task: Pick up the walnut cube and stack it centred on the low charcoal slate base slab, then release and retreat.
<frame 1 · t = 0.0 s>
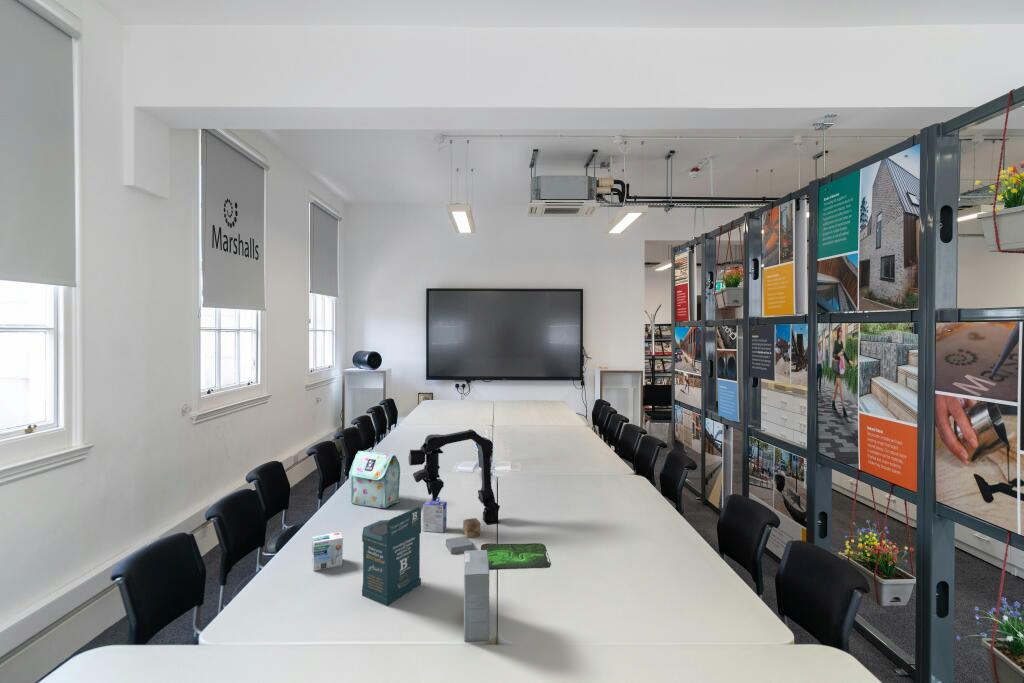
hand: (432, 497, 220), 15 cm above the table, fingers open, 9 cm apart
hard drive box: (476, 626, 149), on the table
base slab: (458, 548, 203), on the table
walnut block: (471, 534, 216), on the table
donation box: (387, 588, 170), on the table
ink cartridge box: (434, 530, 221), on the table
lunch bag: (375, 503, 255), on the table
light bulb box: (327, 565, 187), on the table
mouse mat: (515, 557, 196), on the table
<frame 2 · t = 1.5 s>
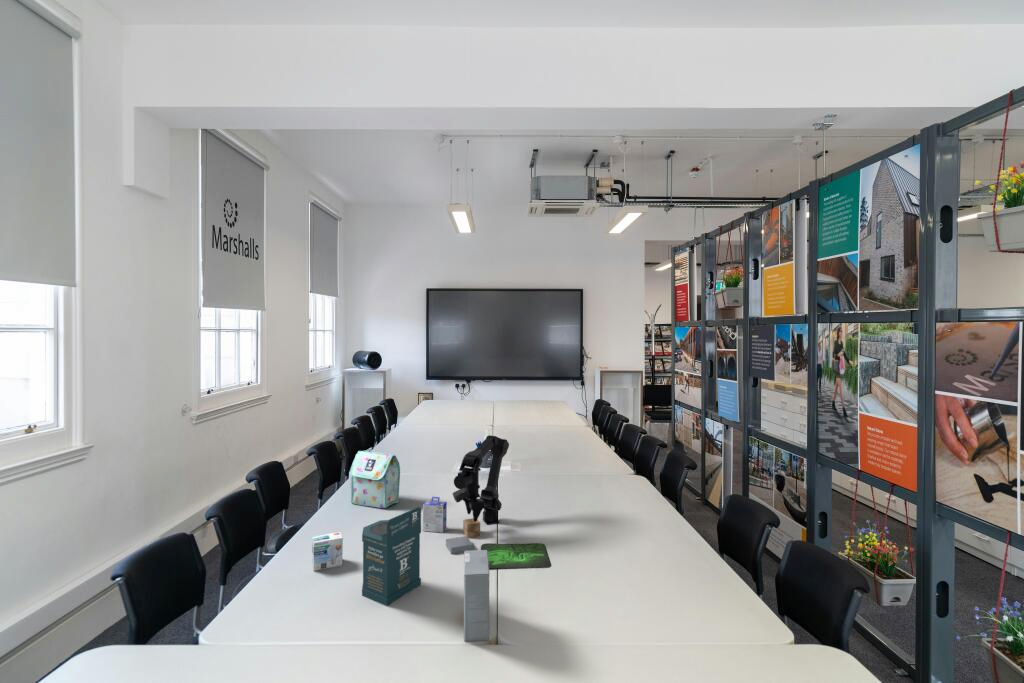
hand: (471, 517, 216), 7 cm above the table, fingers open, 9 cm apart
nothing on the table moved.
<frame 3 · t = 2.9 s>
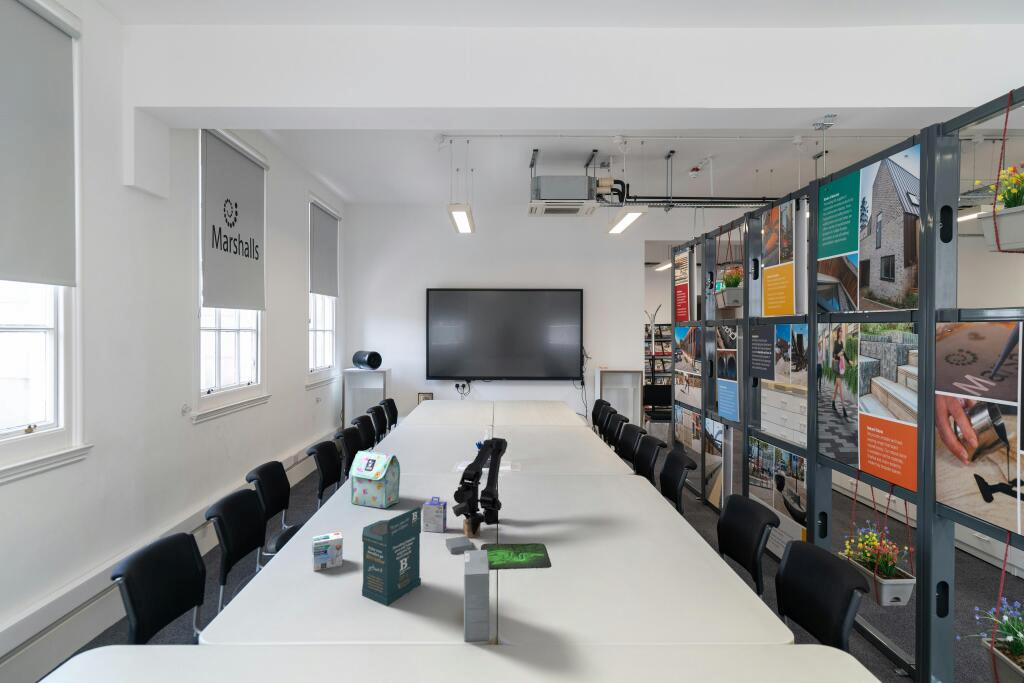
hand: (471, 531, 216), 1 cm above the table, fingers closed on walnut block, 6 cm apart
walnut block: (471, 534, 216), on the table, touching gripper
everything else where it was.
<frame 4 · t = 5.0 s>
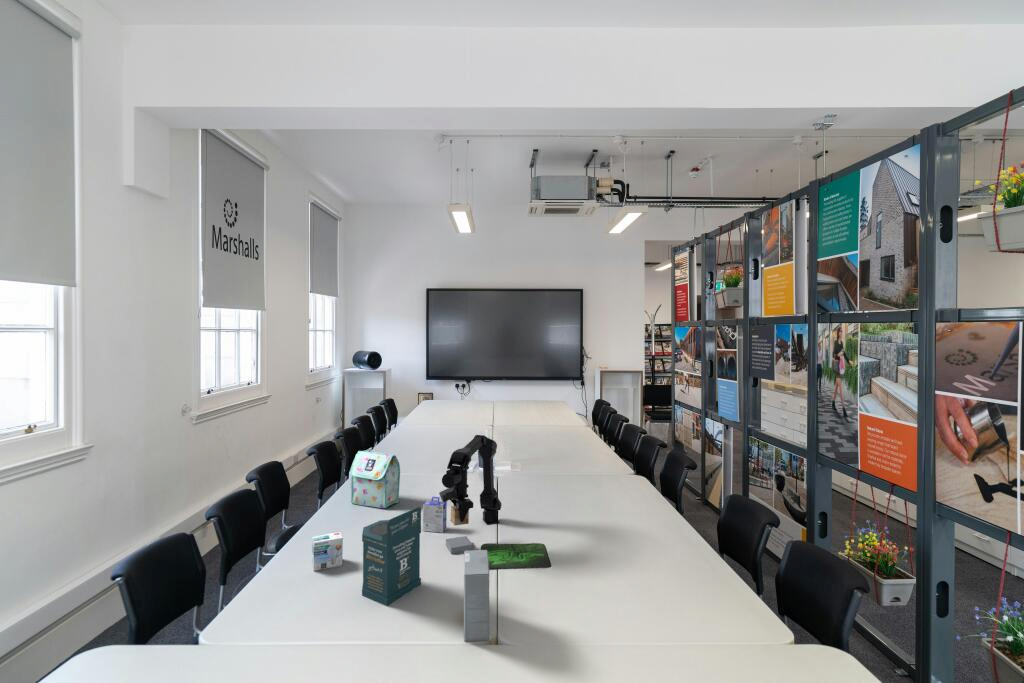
hand: (459, 519, 203), 12 cm above the table, fingers closed on walnut block, 6 cm apart
walnut block: (459, 522, 203), point 10 cm above the table, touching gripper
everything else where it was.
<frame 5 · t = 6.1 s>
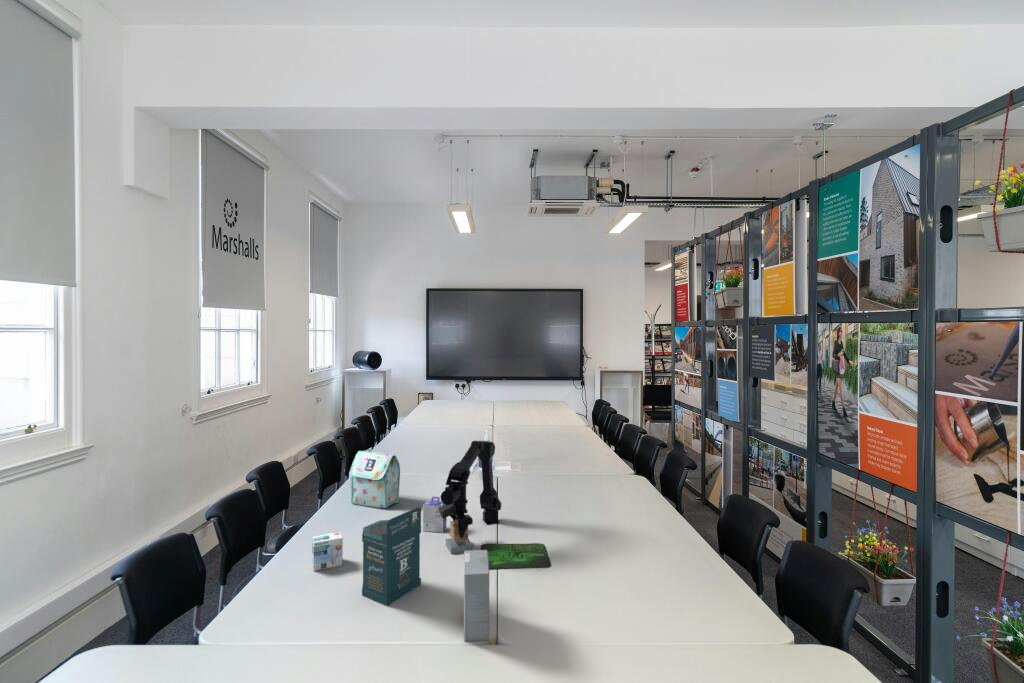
hand: (459, 534, 203), 6 cm above the table, fingers closed on walnut block, 6 cm apart
walnut block: (459, 537, 203), point 4 cm above the table, touching gripper
everything else where it was.
when the fingers open (5 cm above the table, at t = 7.0 s): walnut block drops 1 cm, point 3 cm above the table.
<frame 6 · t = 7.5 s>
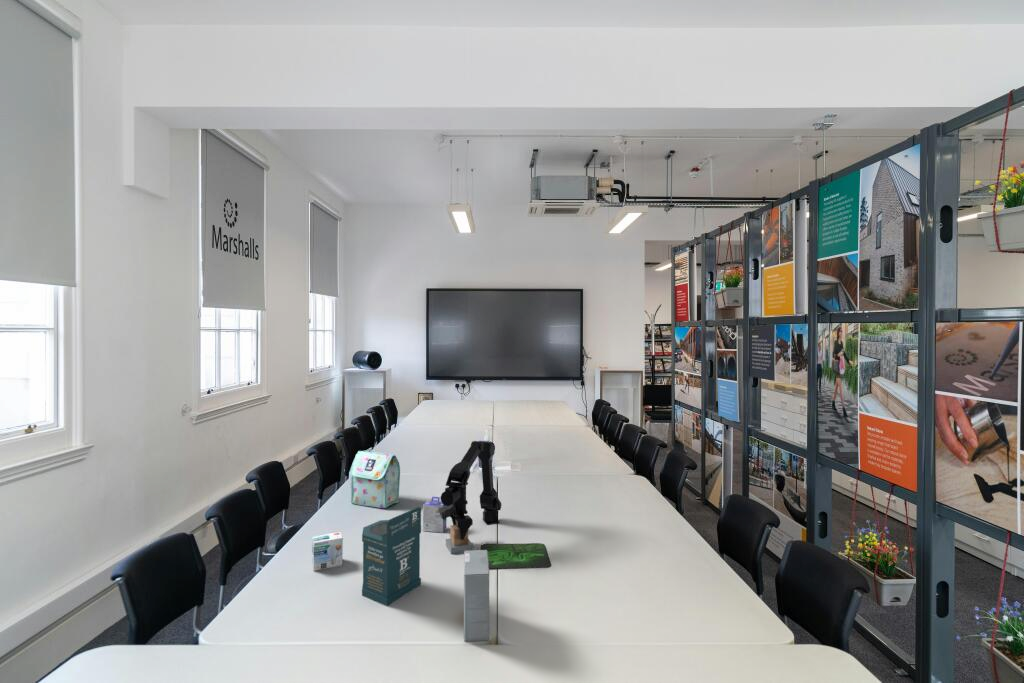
hand: (459, 535, 203), 5 cm above the table, fingers open, 9 cm apart
walnut block: (459, 541, 203), point 3 cm above the table
everything else where it was.
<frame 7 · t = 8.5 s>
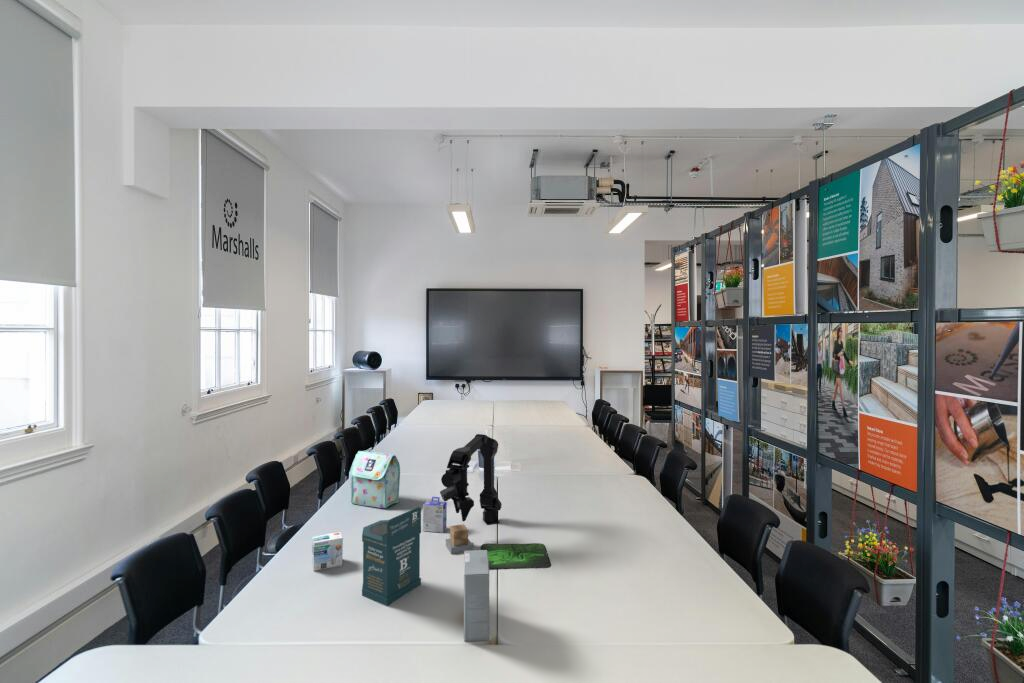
hand: (460, 516, 206), 11 cm above the table, fingers open, 9 cm apart
nothing on the table moved.
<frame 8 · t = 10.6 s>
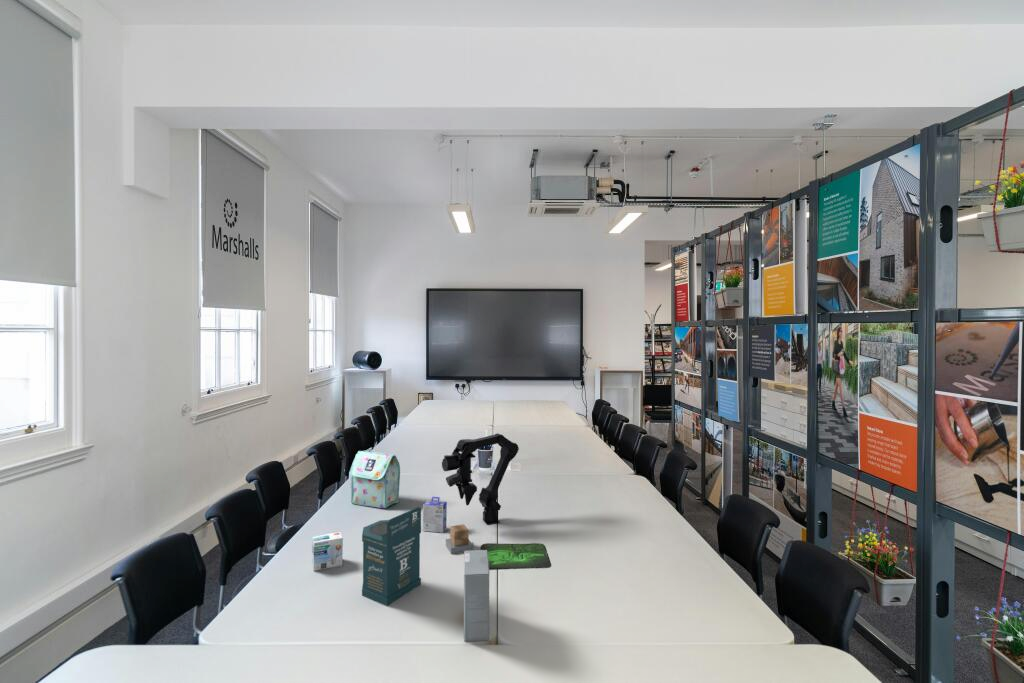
hand: (464, 501, 223), 12 cm above the table, fingers open, 9 cm apart
nothing on the table moved.
at the end: walnut block 0.5 cm off-centre on the base slab, point 3.0 cm above the base slab's base; walnut block tilted 0°; the gripper is holding nothing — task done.
